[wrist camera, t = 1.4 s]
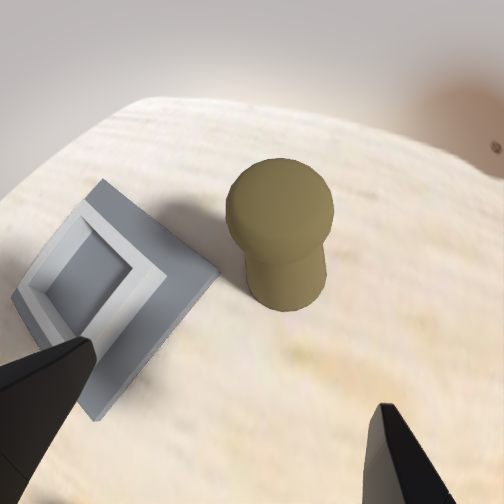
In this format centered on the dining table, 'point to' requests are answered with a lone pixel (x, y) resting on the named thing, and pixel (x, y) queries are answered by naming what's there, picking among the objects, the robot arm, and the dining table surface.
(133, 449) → the dining table surface
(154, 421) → the dining table surface
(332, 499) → the dining table surface
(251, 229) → the cork
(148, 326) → the socket plate
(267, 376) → the dining table surface
